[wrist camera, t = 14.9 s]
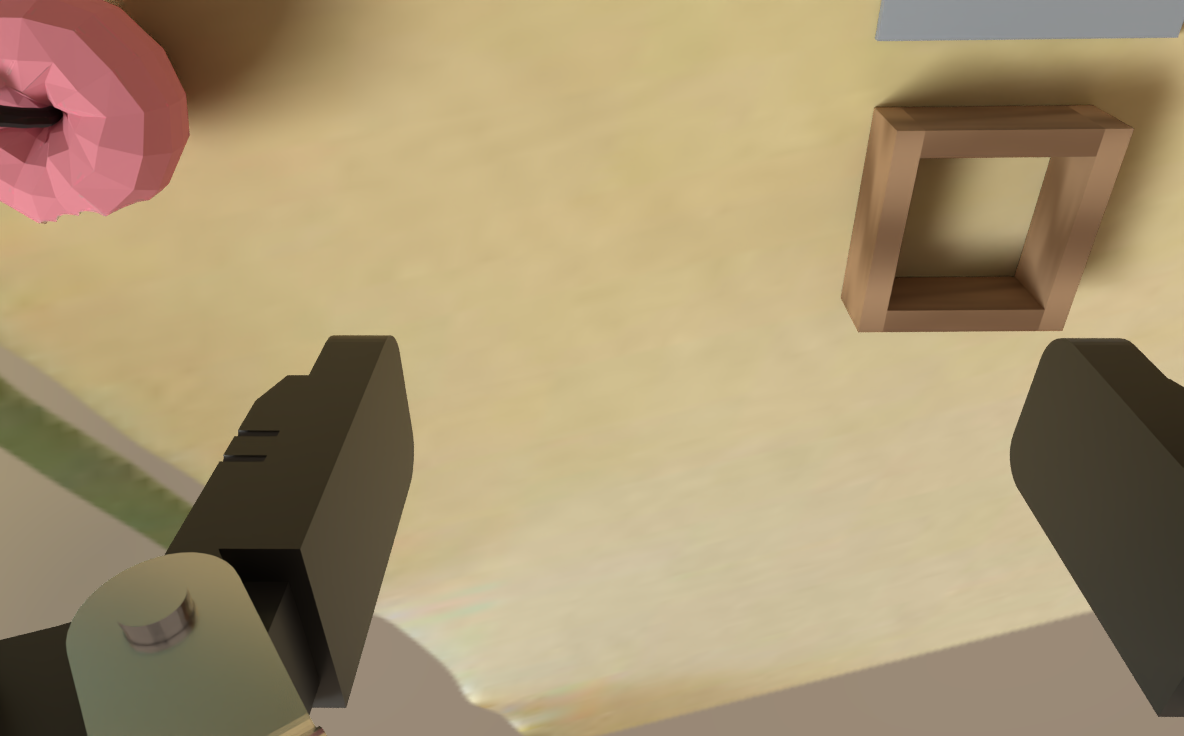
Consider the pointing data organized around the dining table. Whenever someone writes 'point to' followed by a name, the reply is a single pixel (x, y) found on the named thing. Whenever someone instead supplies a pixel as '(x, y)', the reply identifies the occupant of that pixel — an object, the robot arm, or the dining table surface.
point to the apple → (84, 109)
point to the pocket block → (1055, 237)
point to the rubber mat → (1028, 19)
